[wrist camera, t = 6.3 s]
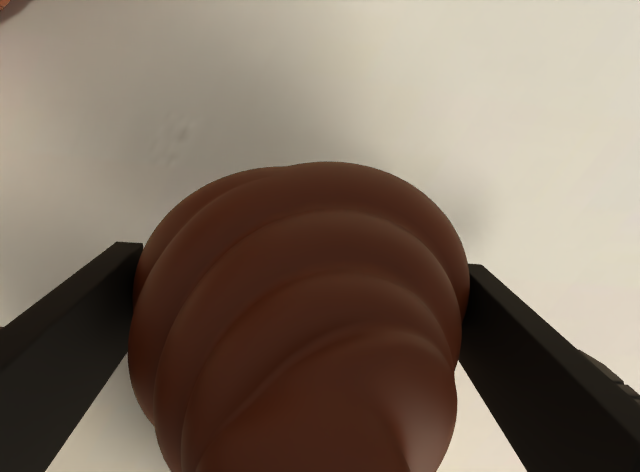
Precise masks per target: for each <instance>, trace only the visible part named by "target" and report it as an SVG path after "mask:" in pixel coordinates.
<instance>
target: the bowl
mask: <svg viewBox="0 0 640 472" xmlns="http://www.w3.org/2000/svg"><path fill="white" fill-rule="evenodd" d="M10 1H11V0H0V11H1V10H3V9H4V7H5V6H7V4H8V3H9V2H10Z"/></svg>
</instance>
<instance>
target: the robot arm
mask: <svg viewBox="0 0 640 472" xmlns="http://www.w3.org/2000/svg"><path fill="white" fill-rule="evenodd" d="M142 252H143V243H130V242H116V243H114V244H113V245H112V246H110V247H109V248H108V249H106V250H105V251H104V252H102V253H101V254H100V255H98V256H97V257H96V258H94V259H93V260H92V261H90V262H89V263H88V264H87V265H85V266H84V267H83V268H81V269H80V270H79V271H77V272H76V273H75V274H73V275H72V276H71V277H69V278H68V279H67V280H65V281H64V282H63V283H62V284H60V285H59V286H58V287H56V288H55V289H54V290H52V291H51V292H50V293H48V294H47V295H46V296H44V297H43V298H42V299H40V300H39V301H38V302H36V303H35V304H34V305H33V306H31V307H30V308H29V309H27V310H26V311H25V312H23V313H22V314H21V315H19V316H18V317H17V318H15V319H14V320H13V321H11V322H10V323H9V324H7V325H6V326H5V327H0V472H45V471H46V469H47V468H48V466H49V465H50V464H51V462H52V461H53V459H54V458H55V456H56V455H57V453H58V452H59V451H60V449H61V448H62V446H63V445H64V443H65V442H66V440H67V439H68V437H69V436H70V435H71V433H72V432H73V430H74V429H75V427H76V426H77V424H78V423H79V422H80V420H81V419H82V417H83V416H84V414H85V413H86V411H87V410H88V408H89V407H90V406H91V404H92V403H93V401H94V400H95V398H96V397H97V395H98V394H99V393H100V391H101V390H102V388H103V387H104V385H105V384H106V382H107V381H108V379H109V378H110V377H111V375H112V374H113V372H114V371H115V369H116V368H117V366H118V365H119V364H120V362H121V361H122V359H123V358H124V356H125V355H126V353H127V352H128V339H129V332H130V326H131V321H132V317H133V303H132V294H133V283H134V277H135V272H136V268H137V265H138V262H139V259H140V256H141V254H142ZM468 268H469V276H470V292H469V300H468V306H467V310H466V314H465V317H464V320H463V322H462V339H461V348H460V354H459V358H458V360H459V362H460V363H461V365H462V367H463V368H464V370H465V372H466V373H467V375H468V376H469V378H470V380H471V381H472V383H473V384H474V386H475V388H476V389H477V391H478V393H479V394H480V396H481V397H482V399H483V401H484V402H485V404H486V405H487V407H488V409H489V410H490V412H491V414H492V415H493V417H494V418H495V420H496V422H497V423H498V425H499V426H500V428H501V430H502V431H503V433H504V435H505V436H506V438H507V439H508V441H509V443H510V444H511V446H512V447H513V449H514V451H515V452H516V454H517V456H518V457H519V459H520V460H521V462H522V464H523V465H524V467H525V468H526V470H527V472H640V395H639V394H638V393H637V392H635V391H634V390H633V389H632V388H631V387H630V386H628V385H624V381H623V380H621V379H620V378H619V377H618V376H617V375H616V374H614V373H613V372H612V371H611V370H610V369H609V368H607V367H606V366H605V365H604V364H602V363H601V362H599V361H597V360H596V359H594V358H592V357H591V356H589V355H587V354H586V353H584V352H582V351H581V350H577V349H576V348H575V347H574V346H573V345H572V344H571V343H569V342H568V341H567V340H566V339H565V338H564V337H563V336H562V335H560V334H559V333H558V332H557V331H556V330H555V329H554V328H553V327H551V326H550V325H549V324H548V323H547V322H546V321H545V320H543V319H542V318H541V317H540V316H539V315H538V314H537V313H536V312H534V311H533V310H532V309H531V308H530V307H529V306H528V305H527V304H525V303H524V302H523V301H522V300H521V299H520V298H519V297H518V296H516V295H515V294H514V293H513V292H512V291H511V290H510V289H508V288H507V287H506V286H505V285H504V284H503V283H502V282H501V281H499V280H498V279H497V278H496V277H495V276H494V275H493V274H492V273H490V272H489V271H488V270H487V269H486V268H485V267H484V266H482V265H479V264H468Z"/></svg>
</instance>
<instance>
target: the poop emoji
mask: <svg viewBox="0 0 640 472" xmlns="http://www.w3.org/2000/svg"><path fill="white" fill-rule="evenodd" d="M469 292H470V276H469V268H468V262H467V258H466V255H465V251H464V248H463V246H462V243H461V241H460V239H459V236H458V235H457V233H456V231H455V229H454V227H453V226H452V224H451V223H450V221H449V220H448V218H447V217H446V216H445V214H444V213H443V212H442V211H441V210H440V208H439V207H438V206H437V205H436V204H435V203H434V202H433V201H432V200H431V199H430V198H428V197H427V196H426V195H425V194H424V193H422V192H421V191H420V190H418V189H417V188H416V187H414V186H412V185H411V184H409V183H408V182H406V181H404V180H402V179H400V178H398V177H396V176H394V175H392V174H389V173H387V172H384V171H381V170H378V169H375V168H372V167H368V166H363V165H359V164H352V163H344V162H311V163H303V164H296V165H291V166H281V167H265V168H257V169H251V170H247V171H242V172H238V173H235V174H232V175H229V176H226V177H223V178H221V179H218V180H216V181H214V182H211V183H209V184H207V185H205V186H203V187H202V188H200V189H198V190H197V191H195V192H194V193H192V194H191V195H189V196H188V197H186V198H185V199H184V200H182V201H181V202H180V203H179V204H178V205H176V206H175V207H174V208H173V209H172V210H171V211H170V212H169V213H168V214H167V215H166V216H165V217H164V218H163V220H162V221H161V222H160V223H159V225H158V226H157V227H156V229H155V230H154V232H153V233H152V235H151V236H150V238H149V240H148V241H147V243H146V245H145V247H144V249H143V252H142V254H141V256H140V259H139V262H138V265H137V268H136V272H135V277H134V283H133V294H132V303H133V317H132V321H131V326H130V332H129V339H128V367H129V374H130V380H131V384H132V388H133V391H134V394H135V396H136V399H137V401H138V403H139V405H140V407H141V409H142V410H143V412H144V414H145V415H146V417H147V418H148V419H149V421H150V422H151V423H152V424H153V425H154V426H155V432H156V437H157V441H158V444H159V447H160V450H161V453H162V455H163V458H164V460H165V462H166V463H167V465H168V467H169V469H170V470H171V472H436V471H437V469H438V467H439V466H440V464H441V462H442V460H443V458H444V456H445V454H446V452H447V449H448V447H449V444H450V441H451V438H452V435H453V432H454V427H455V422H456V416H457V392H456V386H455V378H454V371H455V368H456V365H457V362H458V358H459V354H460V348H461V339H462V322H463V320H464V317H465V314H466V310H467V306H468V300H469Z"/></svg>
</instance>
